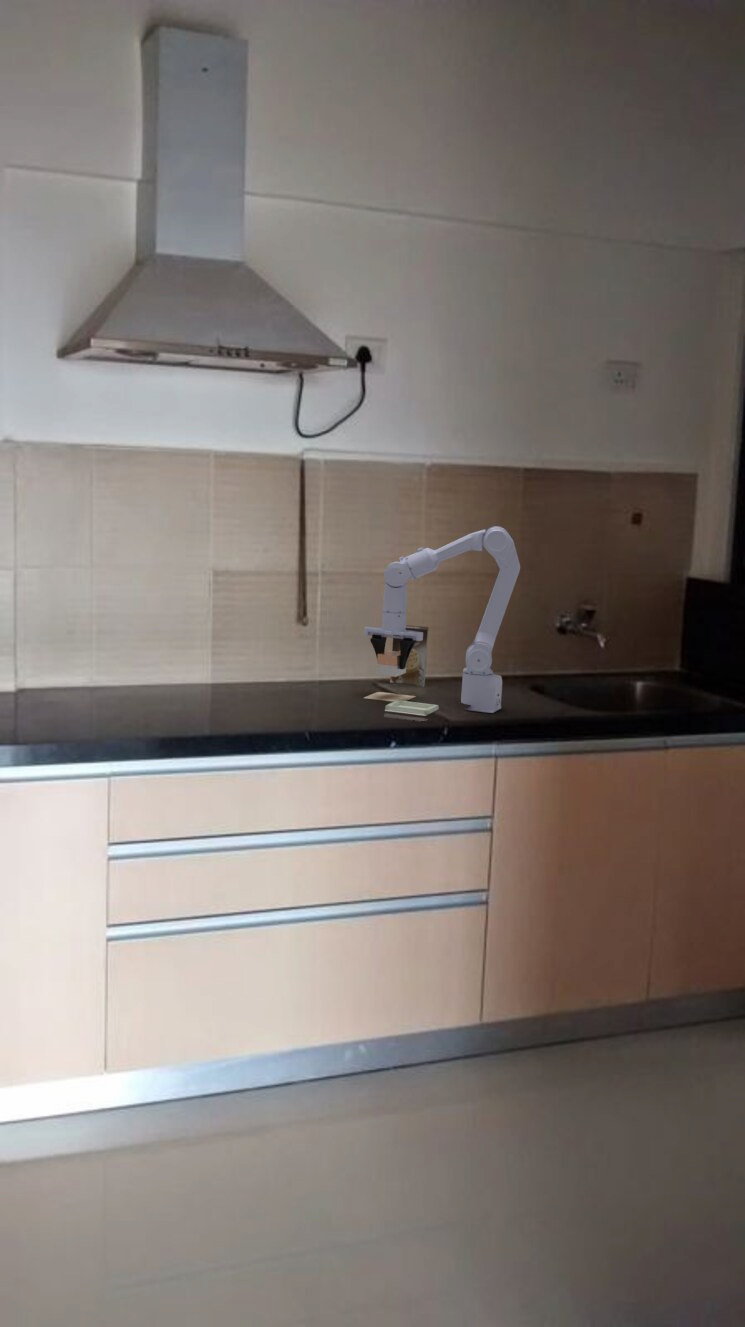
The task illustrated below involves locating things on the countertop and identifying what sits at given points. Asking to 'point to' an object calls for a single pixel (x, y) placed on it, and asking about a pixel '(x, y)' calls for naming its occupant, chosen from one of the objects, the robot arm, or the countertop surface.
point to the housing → (389, 664)
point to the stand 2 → (410, 709)
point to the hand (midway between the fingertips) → (391, 667)
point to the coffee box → (413, 659)
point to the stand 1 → (389, 696)
